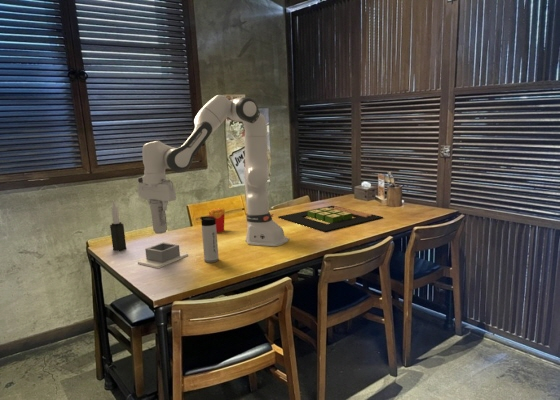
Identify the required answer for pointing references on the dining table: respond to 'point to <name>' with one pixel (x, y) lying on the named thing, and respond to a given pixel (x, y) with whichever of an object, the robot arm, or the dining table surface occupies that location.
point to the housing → (162, 255)
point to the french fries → (218, 218)
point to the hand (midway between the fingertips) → (158, 209)
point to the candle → (117, 230)
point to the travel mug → (209, 239)
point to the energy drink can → (158, 217)
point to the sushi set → (330, 218)
